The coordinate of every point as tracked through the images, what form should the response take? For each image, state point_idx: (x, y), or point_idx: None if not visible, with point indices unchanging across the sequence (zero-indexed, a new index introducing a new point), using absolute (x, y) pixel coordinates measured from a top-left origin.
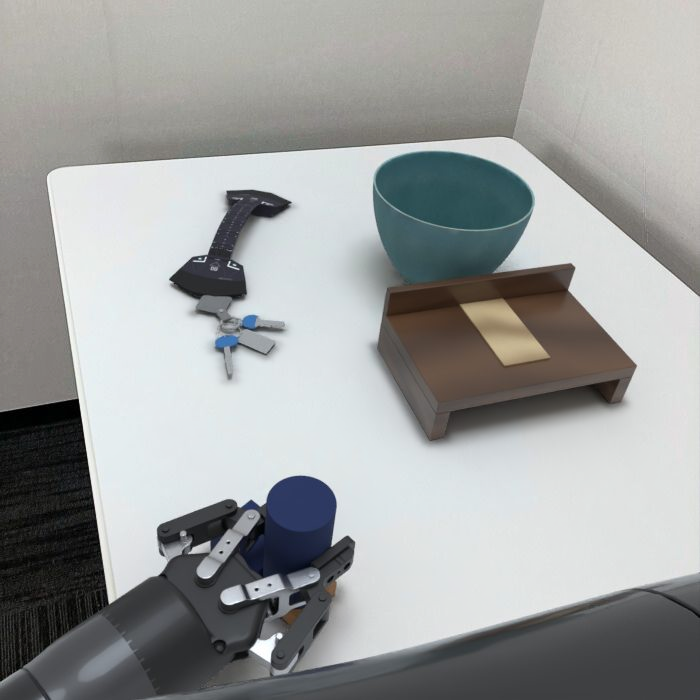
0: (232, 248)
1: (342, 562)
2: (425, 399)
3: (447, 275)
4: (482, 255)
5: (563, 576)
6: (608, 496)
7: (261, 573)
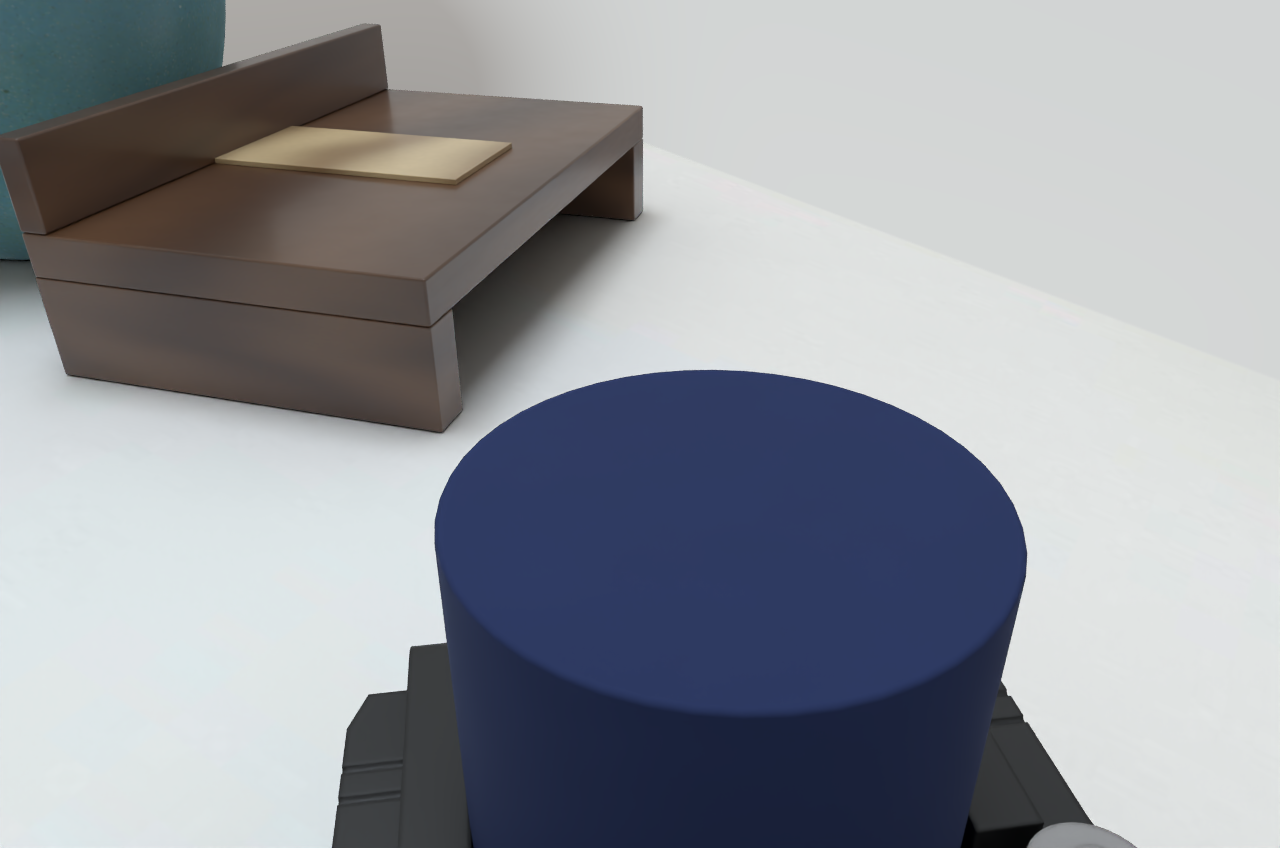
0: None
1: (1005, 705)
2: (360, 327)
3: None
4: (180, 40)
5: (1011, 438)
6: (839, 305)
7: None
